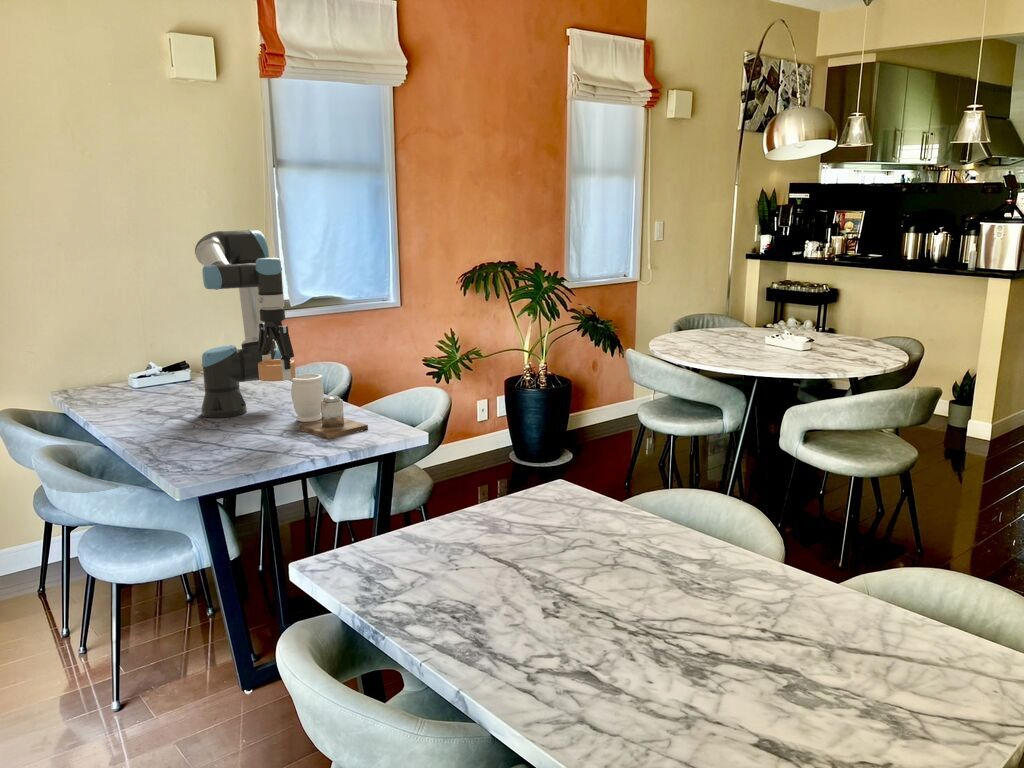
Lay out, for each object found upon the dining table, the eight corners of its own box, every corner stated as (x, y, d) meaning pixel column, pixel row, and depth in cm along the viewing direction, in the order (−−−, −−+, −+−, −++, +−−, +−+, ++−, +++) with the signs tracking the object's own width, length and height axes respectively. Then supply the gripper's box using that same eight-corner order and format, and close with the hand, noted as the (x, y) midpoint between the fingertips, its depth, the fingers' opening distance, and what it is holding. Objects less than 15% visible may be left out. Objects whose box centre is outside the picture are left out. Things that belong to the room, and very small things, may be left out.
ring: (252, 378, 261) (251, 362, 260) (284, 373, 268) (283, 358, 267) (270, 382, 253) (269, 366, 252) (302, 377, 261) (300, 361, 260)
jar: (329, 415, 285) (326, 373, 282) (319, 423, 275) (316, 379, 272) (299, 415, 286) (296, 373, 283) (288, 423, 276) (285, 379, 273)
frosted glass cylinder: (317, 425, 267) (316, 398, 265) (336, 421, 272) (334, 394, 270) (330, 429, 262) (328, 401, 260) (348, 424, 267) (346, 397, 265)
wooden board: (299, 429, 268) (298, 425, 267) (338, 420, 278) (337, 416, 278) (328, 439, 256) (328, 434, 256) (368, 429, 266) (367, 424, 266)
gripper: (242, 306, 262) (248, 374, 266) (280, 312, 245) (285, 383, 250) (264, 304, 267) (269, 370, 271) (302, 309, 251) (307, 380, 255)
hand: (277, 377), depth 261 cm, fingers closed on ring, 11 cm apart
